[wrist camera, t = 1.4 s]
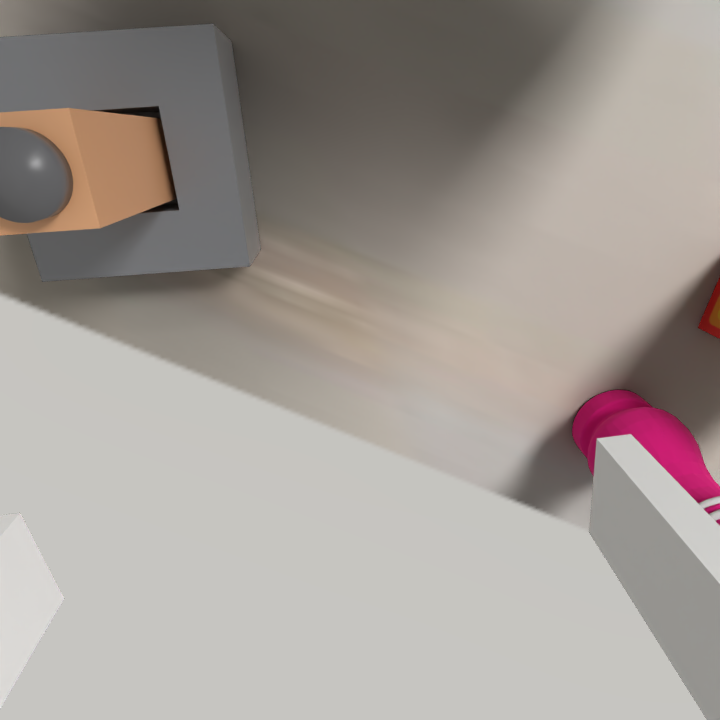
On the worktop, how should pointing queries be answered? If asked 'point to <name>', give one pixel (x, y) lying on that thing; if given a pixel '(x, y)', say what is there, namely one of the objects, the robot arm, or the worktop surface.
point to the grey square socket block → (182, 134)
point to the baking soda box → (712, 314)
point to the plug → (79, 169)
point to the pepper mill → (648, 441)
